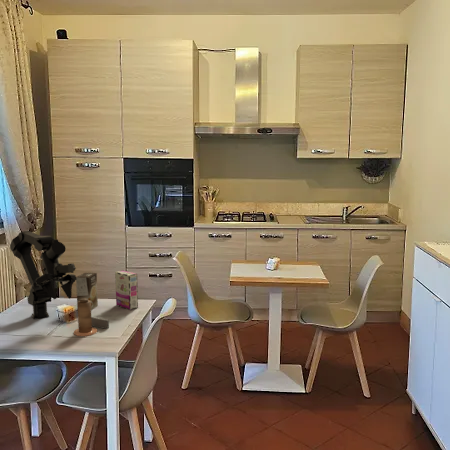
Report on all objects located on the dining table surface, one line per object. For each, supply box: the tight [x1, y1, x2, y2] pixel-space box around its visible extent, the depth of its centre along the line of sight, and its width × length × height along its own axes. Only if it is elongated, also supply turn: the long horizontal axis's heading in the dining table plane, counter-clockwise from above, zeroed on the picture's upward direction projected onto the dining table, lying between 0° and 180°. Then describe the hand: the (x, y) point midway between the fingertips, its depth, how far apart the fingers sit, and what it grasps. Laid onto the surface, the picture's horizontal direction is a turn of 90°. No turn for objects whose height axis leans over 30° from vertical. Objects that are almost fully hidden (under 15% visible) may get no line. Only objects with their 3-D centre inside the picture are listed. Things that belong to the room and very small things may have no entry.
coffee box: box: [75, 272, 99, 312], centre depth 224 cm, size 9×6×16 cm
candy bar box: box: [114, 270, 139, 311], centre depth 226 cm, size 11×5×16 cm, turn 48°
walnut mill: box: [76, 298, 93, 333], centre depth 194 cm, size 5×5×13 cm
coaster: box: [73, 326, 98, 337], centre depth 195 cm, size 9×9×1 cm
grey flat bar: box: [91, 316, 110, 330], centre depth 201 cm, size 11×1×4 cm, turn 65°
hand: (63, 298), depth 197 cm, fingers open, 9 cm apart
